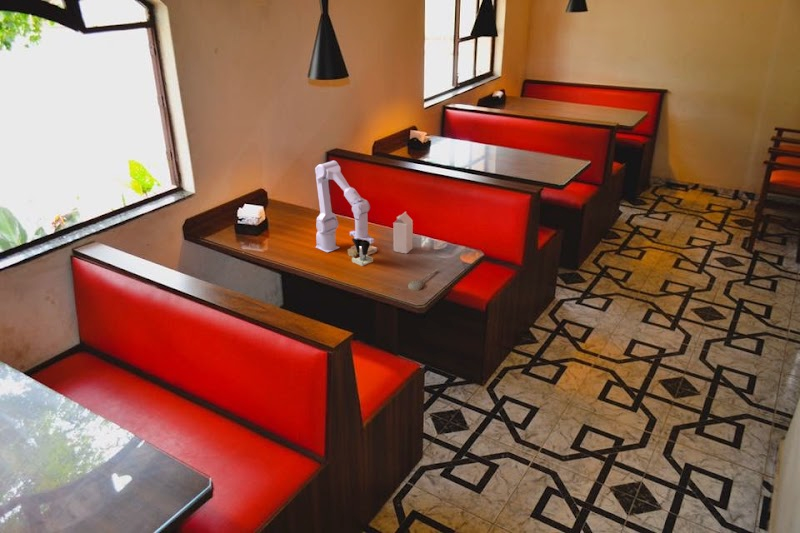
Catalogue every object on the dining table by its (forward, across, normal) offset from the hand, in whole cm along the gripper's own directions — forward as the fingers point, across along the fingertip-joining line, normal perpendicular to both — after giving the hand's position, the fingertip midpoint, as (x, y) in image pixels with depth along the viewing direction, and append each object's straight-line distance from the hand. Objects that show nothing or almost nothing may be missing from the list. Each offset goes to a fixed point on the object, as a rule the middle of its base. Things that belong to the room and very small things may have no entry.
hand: (362, 253), depth 295 cm
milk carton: (+4, +4, +23) cm, 24 cm away
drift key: (+4, -8, +4) cm, 10 cm away
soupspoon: (+5, +34, +6) cm, 35 cm away
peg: (+3, 0, 0) cm, 3 cm away
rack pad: (+4, 0, 0) cm, 4 cm away
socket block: (+4, -8, +9) cm, 13 cm away
